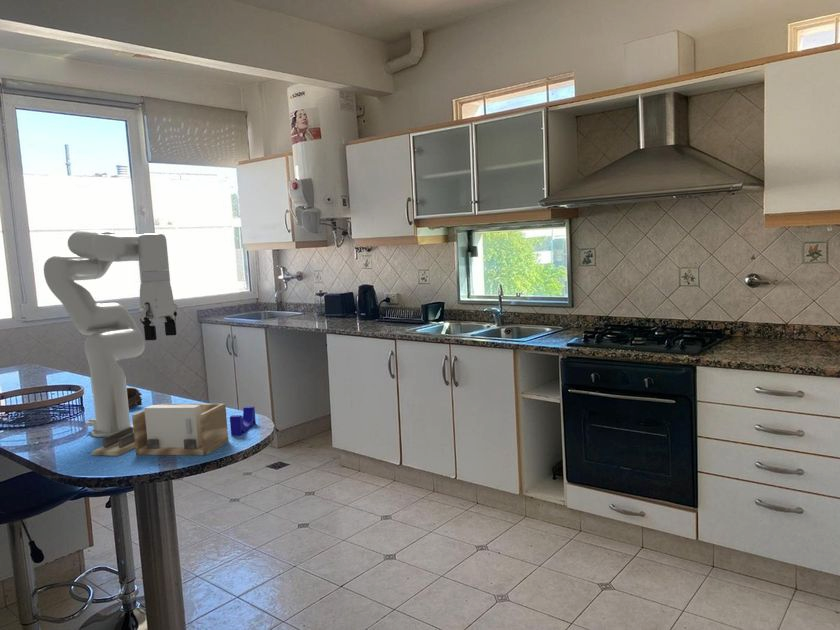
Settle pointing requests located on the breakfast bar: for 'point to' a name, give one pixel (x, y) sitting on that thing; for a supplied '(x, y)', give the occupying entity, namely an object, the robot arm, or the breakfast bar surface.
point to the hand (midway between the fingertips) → (161, 337)
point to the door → (173, 424)
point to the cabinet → (211, 434)
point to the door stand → (117, 443)
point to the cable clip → (242, 421)
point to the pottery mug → (133, 396)
